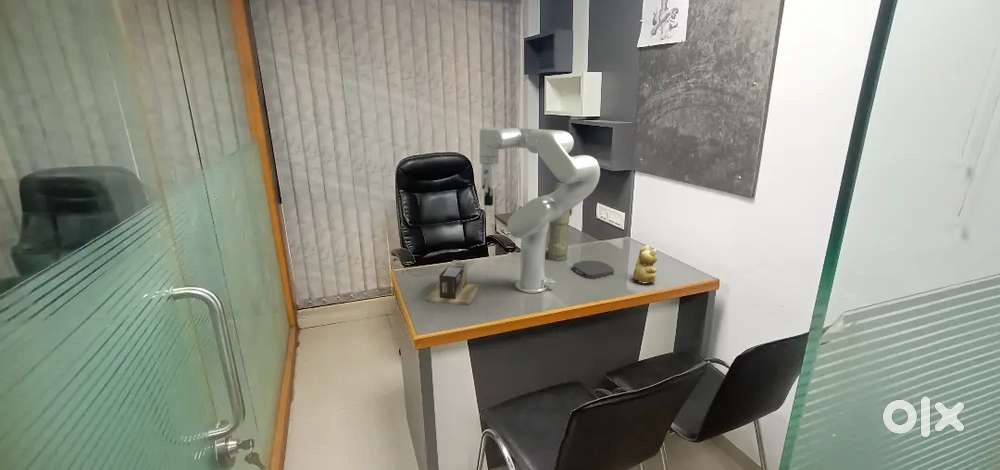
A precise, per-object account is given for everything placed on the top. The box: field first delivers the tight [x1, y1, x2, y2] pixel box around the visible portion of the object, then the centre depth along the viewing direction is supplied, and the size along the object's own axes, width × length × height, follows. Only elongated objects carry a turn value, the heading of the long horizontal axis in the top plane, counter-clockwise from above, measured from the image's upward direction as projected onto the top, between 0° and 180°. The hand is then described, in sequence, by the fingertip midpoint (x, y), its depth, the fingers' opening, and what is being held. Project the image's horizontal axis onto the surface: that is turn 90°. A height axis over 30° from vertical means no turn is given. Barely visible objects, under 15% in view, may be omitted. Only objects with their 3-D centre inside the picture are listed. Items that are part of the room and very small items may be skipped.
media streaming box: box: [572, 259, 615, 280], centre depth 197 cm, size 15×15×3 cm
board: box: [426, 282, 480, 306], centre depth 173 cm, size 16×16×1 cm
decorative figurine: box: [633, 244, 658, 283], centre depth 185 cm, size 10×8×15 cm
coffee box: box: [438, 259, 469, 299], centre depth 173 cm, size 9×6×16 cm
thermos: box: [547, 182, 573, 262], centre depth 208 cm, size 9×12×35 cm
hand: (488, 205), depth 187 cm, fingers closed
